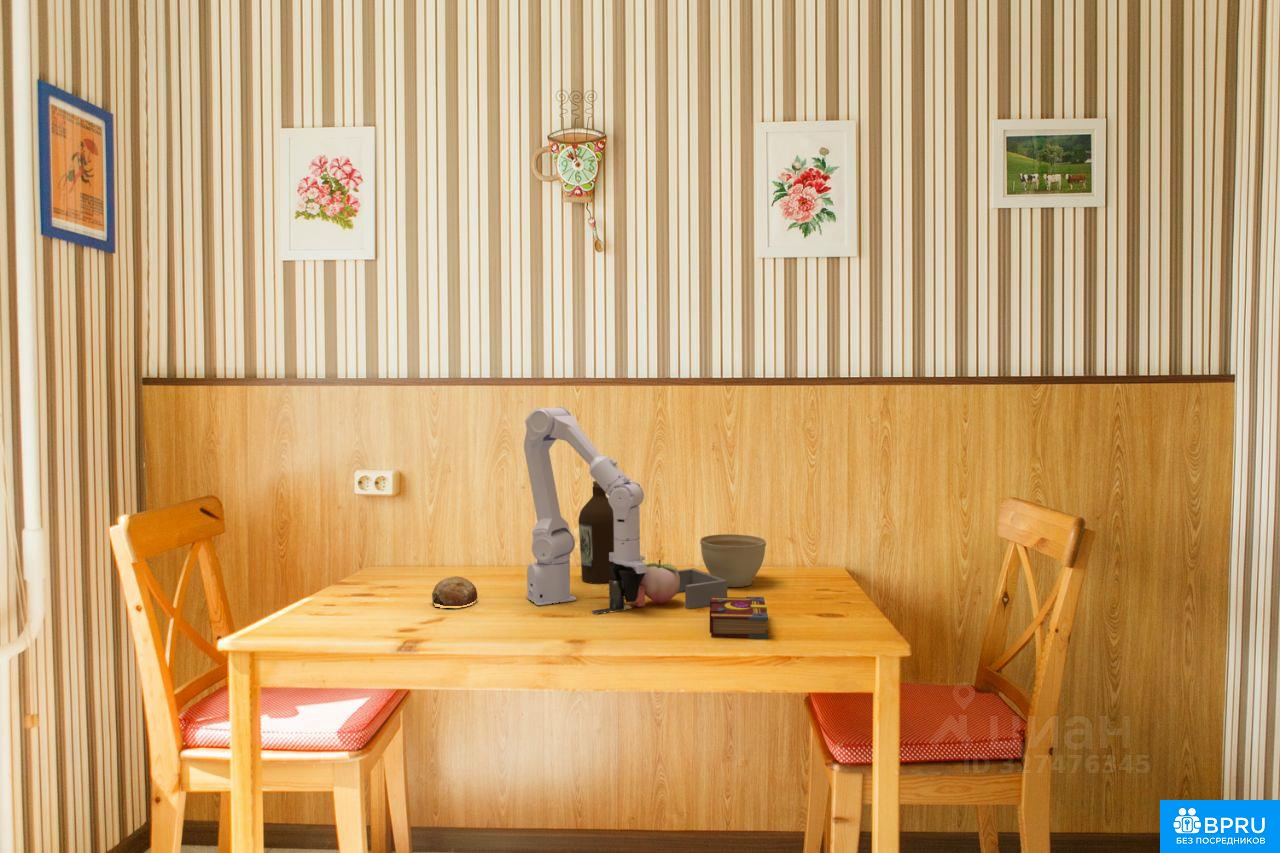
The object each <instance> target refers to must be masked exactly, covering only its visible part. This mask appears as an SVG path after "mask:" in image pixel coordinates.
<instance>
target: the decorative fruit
mask: <svg viewBox="0 0 1280 853" xmlns="http://www.w3.org/2000/svg"><path fill="white" fill-rule="evenodd" d="M678 570H679V569H677V567H675V565H673V564H670V563H664V564H663V563H661V559H658V563H655V562H654V563H653V562H651V563H646V573H645V575H644V577H643V579H642V581H641V583H640V584H641V585H644V586H645V597H647V598H649V599H650V600H651V601H653V602H655V603H656V604H660V605H661V604H664V603H666V602H668V601H670V600H671V599H673V598H675V596H676V595H677V594H678V593H677V592H678V590H679V586H680V577H679V574H678Z"/></svg>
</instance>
